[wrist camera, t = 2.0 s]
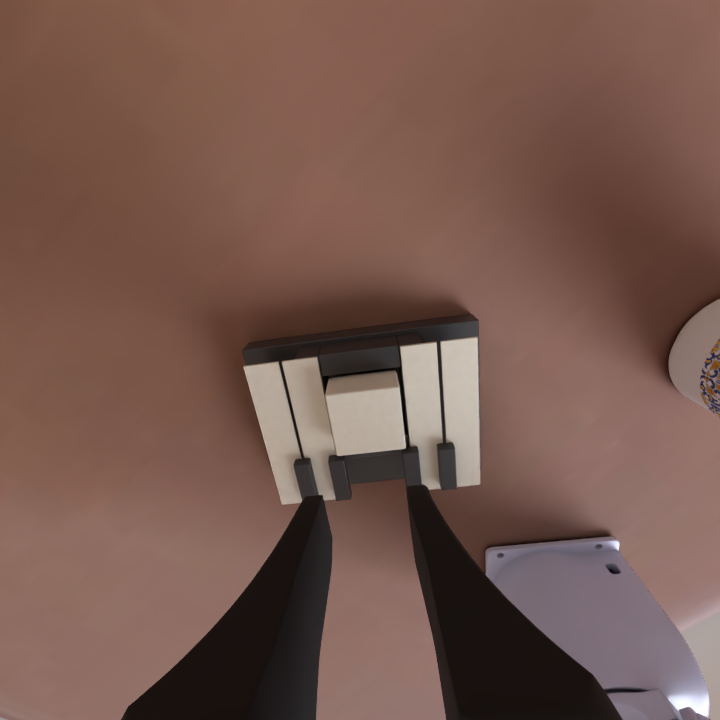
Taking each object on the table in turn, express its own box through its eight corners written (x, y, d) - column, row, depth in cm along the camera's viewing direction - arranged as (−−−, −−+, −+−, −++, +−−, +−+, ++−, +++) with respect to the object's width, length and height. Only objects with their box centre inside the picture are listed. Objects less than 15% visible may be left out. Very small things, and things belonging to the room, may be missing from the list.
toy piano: (248, 342, 21) (230, 361, 18) (472, 313, 20) (489, 329, 18) (285, 478, 25) (275, 511, 22) (475, 458, 24) (489, 489, 21)
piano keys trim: (243, 365, 18) (239, 371, 18) (476, 336, 18) (481, 341, 17) (282, 503, 22) (279, 512, 21) (479, 483, 21) (483, 492, 20)
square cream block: (328, 377, 19) (324, 395, 17) (396, 369, 19) (399, 386, 17) (339, 434, 20) (336, 457, 19) (402, 427, 20) (406, 449, 18)
